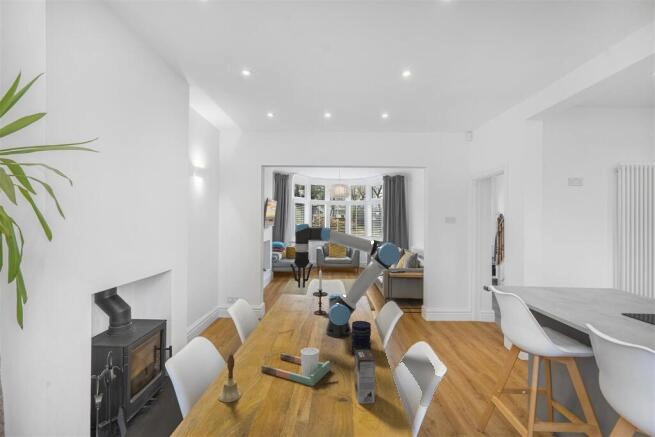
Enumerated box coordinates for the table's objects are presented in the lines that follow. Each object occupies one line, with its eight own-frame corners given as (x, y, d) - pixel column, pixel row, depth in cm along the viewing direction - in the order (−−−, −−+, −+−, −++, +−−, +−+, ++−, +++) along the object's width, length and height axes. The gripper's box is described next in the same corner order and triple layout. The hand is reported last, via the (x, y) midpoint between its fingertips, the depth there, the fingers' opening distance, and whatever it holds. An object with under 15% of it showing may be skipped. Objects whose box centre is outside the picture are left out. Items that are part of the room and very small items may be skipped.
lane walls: (261, 371, 138) (261, 365, 138) (281, 358, 152) (281, 352, 152) (276, 375, 134) (276, 369, 134) (295, 361, 148) (295, 356, 148)
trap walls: (276, 375, 134) (276, 369, 134) (295, 361, 148) (295, 356, 148) (289, 379, 131) (289, 373, 131) (308, 364, 145) (308, 359, 145)
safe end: (289, 379, 131) (289, 370, 131) (308, 364, 145) (308, 356, 145) (312, 386, 126) (312, 376, 126) (329, 370, 140) (329, 361, 140)
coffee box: (353, 390, 123) (354, 349, 123) (369, 390, 123) (370, 349, 124) (358, 404, 114) (358, 359, 114) (375, 403, 114) (375, 359, 115)
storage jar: (359, 347, 165) (360, 319, 165) (374, 353, 158) (375, 323, 158) (347, 353, 158) (347, 323, 158) (362, 359, 151) (362, 328, 151)
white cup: (304, 379, 131) (304, 356, 131) (298, 371, 138) (298, 349, 138) (321, 376, 134) (321, 353, 134) (314, 368, 141) (314, 346, 141)
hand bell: (242, 389, 123) (242, 349, 123) (240, 401, 115) (240, 358, 115) (220, 391, 121) (220, 350, 122) (216, 403, 113) (217, 359, 113)
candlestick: (325, 316, 219) (326, 266, 220) (310, 315, 222) (311, 265, 222) (328, 311, 230) (329, 264, 230) (314, 310, 232) (315, 263, 233)
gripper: (313, 250, 178) (313, 292, 178) (290, 250, 177) (290, 292, 177) (313, 252, 170) (313, 295, 170) (289, 251, 170) (289, 295, 169)
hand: (301, 293), depth 174 cm, fingers closed
